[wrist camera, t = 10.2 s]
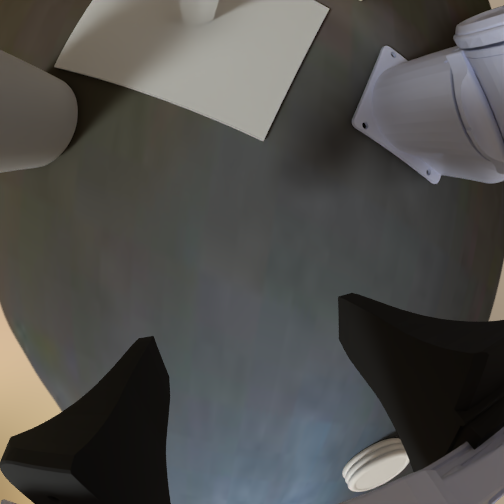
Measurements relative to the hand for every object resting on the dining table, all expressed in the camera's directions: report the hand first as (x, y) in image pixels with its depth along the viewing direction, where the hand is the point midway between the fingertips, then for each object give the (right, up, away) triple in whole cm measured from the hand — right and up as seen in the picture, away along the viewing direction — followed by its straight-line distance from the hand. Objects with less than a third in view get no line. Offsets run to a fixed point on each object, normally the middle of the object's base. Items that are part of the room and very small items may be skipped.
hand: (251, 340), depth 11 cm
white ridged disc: (+17, -26, +23) cm, 39 cm away
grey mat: (-4, +19, +4) cm, 20 cm away
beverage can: (-14, +12, +5) cm, 20 cm away
